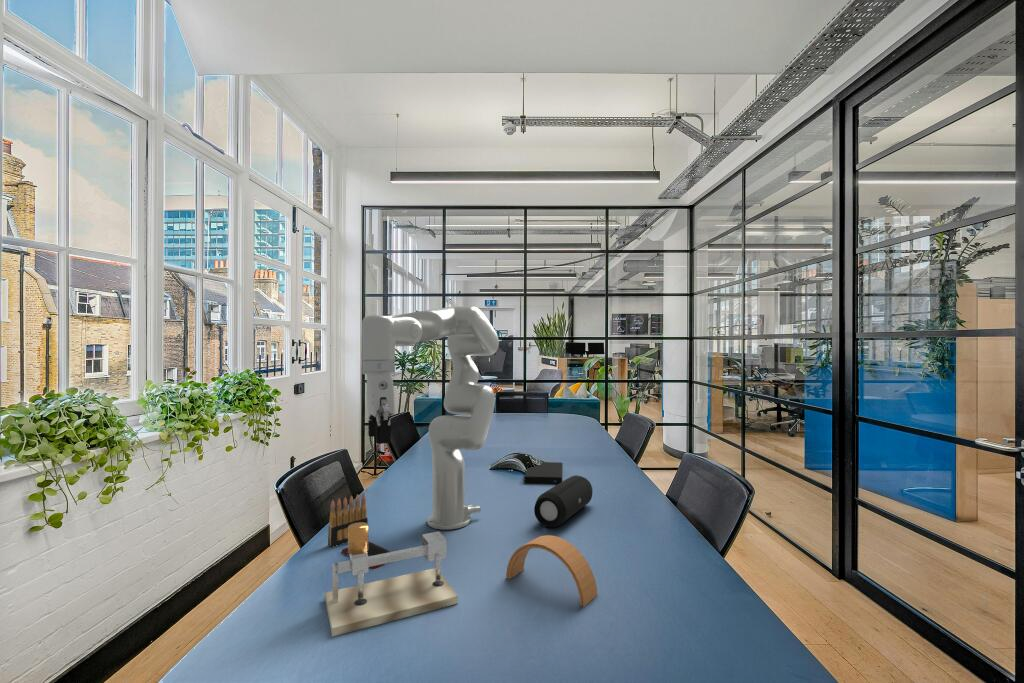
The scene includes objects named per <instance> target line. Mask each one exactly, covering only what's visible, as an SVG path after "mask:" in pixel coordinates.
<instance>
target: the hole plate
mask: <svg viewBox="0 0 1024 683" xmlns="http://www.w3.org/2000/svg"><path fill="white" fill-rule="evenodd" d="M458 599H459V596H458V594H457V593H456V592H455V590H454V589H453V588H452V586H451V585H450V583H449V582H448V581H447V580H446V578H445V577H444V575H443V574H442V573H441V580H440V581H439V582H437V581H436V580H435V567H434V568H430V569H425V570H421V571H417V572H412V573H407V574H402V575H398V576H394V577H389V578H385V579H381V580H375V581H370V582H367V583H364V598H363V599H362V600H359V599H358V584H356V585H353V586H349V587H345V588H340V589H339V588H338V603H333V602H332V590H330V591H327V592H324V603H325V607H326V612H327V617H328V621H329V622H328V623H329V627H330V632H331V637H336V636H340V635H342V634H343V635H344V634H347V633H351V632H355V631H359V630H362V629H367V628H370V627H373V626H378V625H382V624H385V623H390V622H392V621H397V620H400V619H404V618H408V617H412V616H415V615H419V614H423V613H427V612H431V611H434V610H438V609H443V608H446V606H447V607H450V606H453V605H458V604H459V602H458V601H459V600H458ZM457 603H458V604H457ZM442 607H443V608H442Z"/></svg>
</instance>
